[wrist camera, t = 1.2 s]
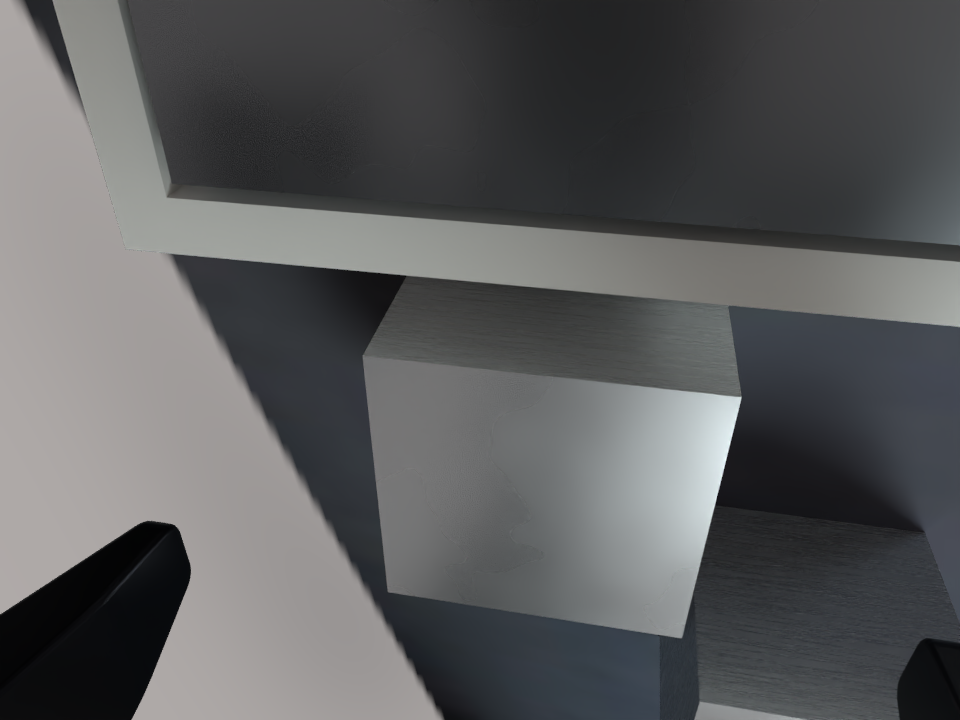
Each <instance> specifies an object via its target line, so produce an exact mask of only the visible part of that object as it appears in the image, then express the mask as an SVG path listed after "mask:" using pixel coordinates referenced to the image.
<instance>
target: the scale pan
mask: <svg viewBox="0 0 960 720" xmlns="http://www.w3.org/2000/svg"><path fill="white" fill-rule="evenodd" d="M128 4H129V8H130V13H131V17H132V21H133V25H134V29H135V33H136V37H137V41H138V46H139V50H140V54H141V58H142V62H143V66H144V70H145V75H146V79H147V83H148V87H149V91H150V95H151V99H152V104H153V108H154V112H155V116H156V120H157V124H158V128H159V133H160V137H161V141H162V145H163V149H164V153H165V157H166V162H167V166H168V170H169V174H170V178H171V182H172V184H180V185H193V186H206V187H219V188H232V189H245V190H257V191H270V192H283V193H296V194H309V195H322V196H334V197H347V198H360V199H373V200H386V201H399V202H411V203H424V204H437V205H450V206H463V207H476V208H489V209H501V210H514V211H527V212H540V213H553V214H566V215H578V216H591V217H604V218H617V219H630V220H643V221H656V222H668V223H681V224H694V225H707V226H720V227H733V228H745V229H758V230H771V231H784V232H797V233H810V234H822V235H835V236H848V237H861V238H874V239H887V240H900V241H912V242H925V243H938V244H951V245H960V0H128Z"/></svg>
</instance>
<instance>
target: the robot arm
mask: <svg viewBox="0 0 960 720" xmlns="http://www.w3.org/2000/svg"><path fill="white" fill-rule="evenodd" d="M190 575H191V567H190V562H189V559H188V556H187V553H186V550H185V547H184V543H183V540H182V537H181V534H180V531H179V530H178V528H177V527H176V526H175V525H173V524H168V523H161V522H154V521H146V522H143V523H140V524H138V525H137V526H135V527H134V528H132V529H130V530H129V531H127V532H126V533H124V534H123V535H121V536H120V537H118V538H117V539H115V540H114V541H112V542H111V543H109V544H107V545H106V546H104V547H103V548H101V549H100V550H98V551H97V552H95V553H94V554H92V555H91V556H89V557H88V558H86V559H85V560H83V561H81V562H80V563H79V564H77V565H75V566H74V567H72V568H71V569H69V570H68V571H66V572H65V573H63V574H62V575H60V576H58V577H57V578H55V579H54V580H52V581H51V582H49V583H48V584H46V585H45V586H43V587H42V588H40V589H39V590H37V591H36V592H34V593H32V594H31V595H29V596H28V597H26V598H25V599H23V600H22V601H20V602H19V603H17V604H16V605H14V606H13V607H11V608H9V609H8V610H6V611H5V612H3V613H2V614H0V720H131V719H132V718H133V716H134V714H135V712H136V710H137V708H138V705H139V704H140V702H141V700H142V697H143V695H144V693H145V691H146V689H147V686H148V684H149V682H150V679H151V677H152V675H153V672H154V669H155V667H156V665H157V662H158V660H159V657H160V654H161V652H162V650H163V647H164V645H165V642H166V640H167V637H168V635H169V632H170V629H171V627H172V625H173V622H174V619H175V617H176V615H177V612H178V610H179V607H180V605H181V602H182V600H183V597H184V595H185V592H186V590H187V587H188V584H189V581H190ZM897 704H898V712H899V719H900V720H960V643H957V642H952V641H946V640H939V639H932V638H925V639H923V640H922V641H920V642H919V644H918V645H917V647H916V648H915V650H914V652H913V654H912V656H911V658H910V660H909V661H908V663H907V665H906V667H905V669H904V671H903V672H902V674H901V676H900V679H899V681H898V686H897Z"/></svg>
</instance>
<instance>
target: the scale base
mask: <svg viewBox="0 0 960 720" xmlns="http://www.w3.org/2000/svg"><path fill="white" fill-rule="evenodd" d="M53 4H54V7H55V11H56V14H57V18H58V21H59V24H60V28H61V31H62V35H63V38H64V41H65V45H66V48H67V52H68V55H69V58H70V62H71V65H72V69H73V72H74V75H75V79H76V82H77V86H78V89H79V93H80V96H81V99H82V103H83V106H84V110H85V113H86V116H87V120H88V123H89V127H90V130H91V133H92V137H93V140H94V144H95V147H96V150H97V154H98V157H99V160H100V164H101V167H102V171H103V174H104V178H105V181H106V184H107V188H108V191H109V195H110V198H111V202H112V205H113V208H114V211H115V215H116V218H117V222H118V225H119V229H120V232H121V235H122V239H123V243H124V246H125V249H127V250H137V251H149V252H159V253H170V254H180V255H191V256H202V257H213V258H224V259H234V260H245V261H256V262H267V263H278V264H288V265H299V266H310V267H321V268H331V269H342V270H353V271H364V272H375V273H385V274H396V275H407V276H418V277H429V278H439V279H450V280H461V281H472V282H483V283H493V284H504V285H515V286H526V287H536V288H547V289H558V290H569V291H580V292H590V293H601V294H612V295H623V296H634V297H644V298H655V299H666V300H677V301H687V302H698V303H709V304H720V305H731V306H741V307H752V308H763V309H774V310H785V311H795V312H806V313H817V314H828V315H838V316H849V317H860V318H871V319H882V320H892V321H903V322H914V323H925V324H936V325H946V326H957V327H960V245H951V244H938V243H925V242H912V241H900V240H887V239H874V238H861V237H848V236H835V235H822V234H810V233H797V232H784V231H771V230H758V229H745V228H733V227H720V226H707V225H694V224H681V223H668V222H656V221H643V220H630V219H617V218H604V217H591V216H578V215H566V214H553V213H540V212H527V211H514V210H501V209H489V208H476V207H463V206H450V205H437V204H424V203H411V202H399V201H386V200H373V199H360V198H347V197H334V196H322V195H309V194H296V193H283V192H270V191H257V190H245V189H232V188H219V187H206V186H193V185H180V184H172V182H171V178H170V174H169V170H168V166H167V162H166V157H165V153H164V149H163V145H162V141H161V137H160V133H159V128H158V124H157V120H156V116H155V112H154V108H153V104H152V99H151V95H150V91H149V87H148V83H147V79H146V75H145V70H144V66H143V62H142V58H141V54H140V50H139V46H138V41H137V37H136V33H135V29H134V25H133V21H132V17H131V13H130V8H129V4H128V0H53Z"/></svg>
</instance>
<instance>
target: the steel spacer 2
mask: <svg viewBox="0 0 960 720" xmlns="http://www.w3.org/2000/svg"><path fill="white" fill-rule="evenodd" d="M925 638H932V639H939V640H946V641H952V642H957V643H960V623H959V620H958V618H957V615H956V613H955V610H954V607H953V605H952V602H951V599H950V597H949V594H948V592H947V589H946V586H945V584H944V581H943V579H942V576H941V573H940V571H939V568H938V565H937V563H936V560H935V558H934V555H933V552H932V550H931V547H930V544H929V542H928V539H927V537H926V534H925V533H923V532H915V531H907V530H900V529H892V528H884V527H877V526H869V525H862V524H854V523H846V522H839V521H831V520H823V519H816V518H808V517H801V516H793V515H785V514H778V513H770V512H762V511H755V510H747V509H740V508H732V507H724V506H717V505H715V507H714V511H713V515H712V519H711V523H710V527H709V531H708V535H707V539H706V543H705V547H704V551H703V555H702V559H701V563H700V567H699V571H698V575H697V579H696V583H695V587H694V591H693V595H692V599H691V603H690V607H689V611H688V615H687V620H686V624H685V628H684V632H683V636H682V638H676V637H670V636H663V635H660V720H900V719H899V712H898V704H897V686H898V681H899V679H900V676H901V674H902V672H903V671H904V669H905V667H906V665H907V663H908V661H909V660H910V658H911V656H912V654H913V652H914V650H915V648H916V647H917V645H918V644H919V642H920V641H922V640H923V639H925Z"/></svg>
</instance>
